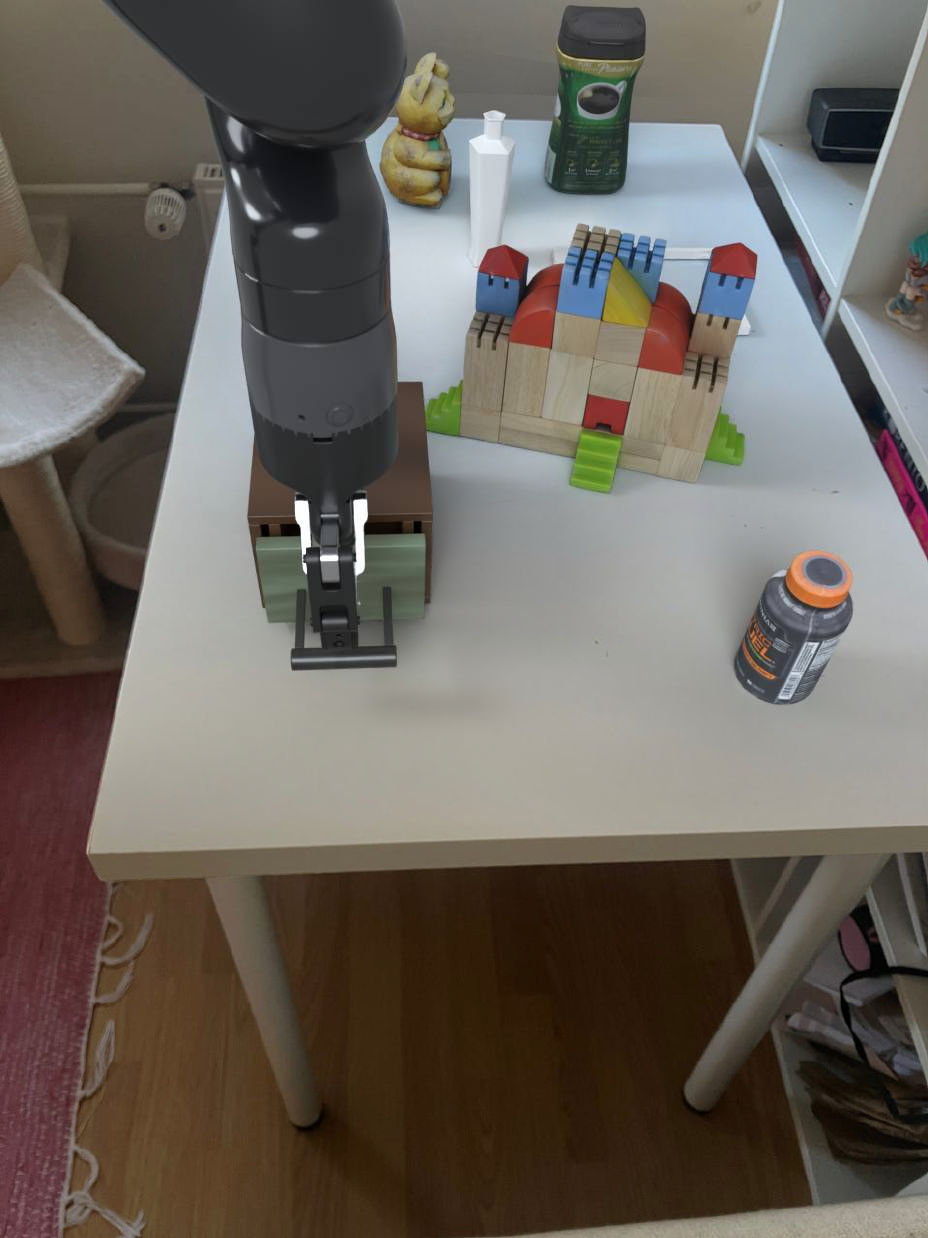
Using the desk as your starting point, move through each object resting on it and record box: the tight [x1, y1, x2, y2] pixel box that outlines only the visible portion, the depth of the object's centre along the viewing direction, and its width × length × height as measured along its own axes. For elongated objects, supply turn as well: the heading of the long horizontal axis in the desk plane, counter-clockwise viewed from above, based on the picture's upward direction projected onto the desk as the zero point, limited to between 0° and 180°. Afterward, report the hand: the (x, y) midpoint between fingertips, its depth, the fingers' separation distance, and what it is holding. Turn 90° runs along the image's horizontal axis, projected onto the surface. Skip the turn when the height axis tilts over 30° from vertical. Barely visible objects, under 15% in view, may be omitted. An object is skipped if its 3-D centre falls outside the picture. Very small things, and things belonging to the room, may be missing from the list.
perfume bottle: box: [466, 109, 516, 268], centre depth 102 cm, size 5×4×15 cm
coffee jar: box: [543, 4, 647, 195], centre depth 112 cm, size 10×8×19 cm
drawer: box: [256, 521, 426, 672], centre depth 73 cm, size 20×11×8 cm, turn 4°
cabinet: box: [246, 381, 434, 609], centre depth 77 cm, size 15×13×10 cm
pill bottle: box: [733, 549, 854, 706], centre depth 69 cm, size 6×6×11 cm
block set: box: [425, 222, 759, 494], centre depth 82 cm, size 28×14×19 cm, turn 76°
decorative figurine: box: [378, 51, 456, 209], centre depth 109 cm, size 10×8×15 cm
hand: (340, 592), depth 63 cm, fingers open, 8 cm apart
